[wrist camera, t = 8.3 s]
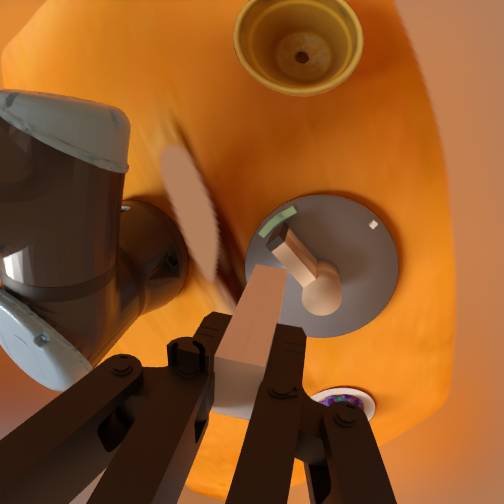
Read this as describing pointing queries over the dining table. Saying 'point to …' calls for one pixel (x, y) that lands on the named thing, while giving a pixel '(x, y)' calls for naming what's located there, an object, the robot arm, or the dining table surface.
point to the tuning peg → (307, 271)
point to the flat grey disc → (333, 260)
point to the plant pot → (298, 44)
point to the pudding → (347, 399)
